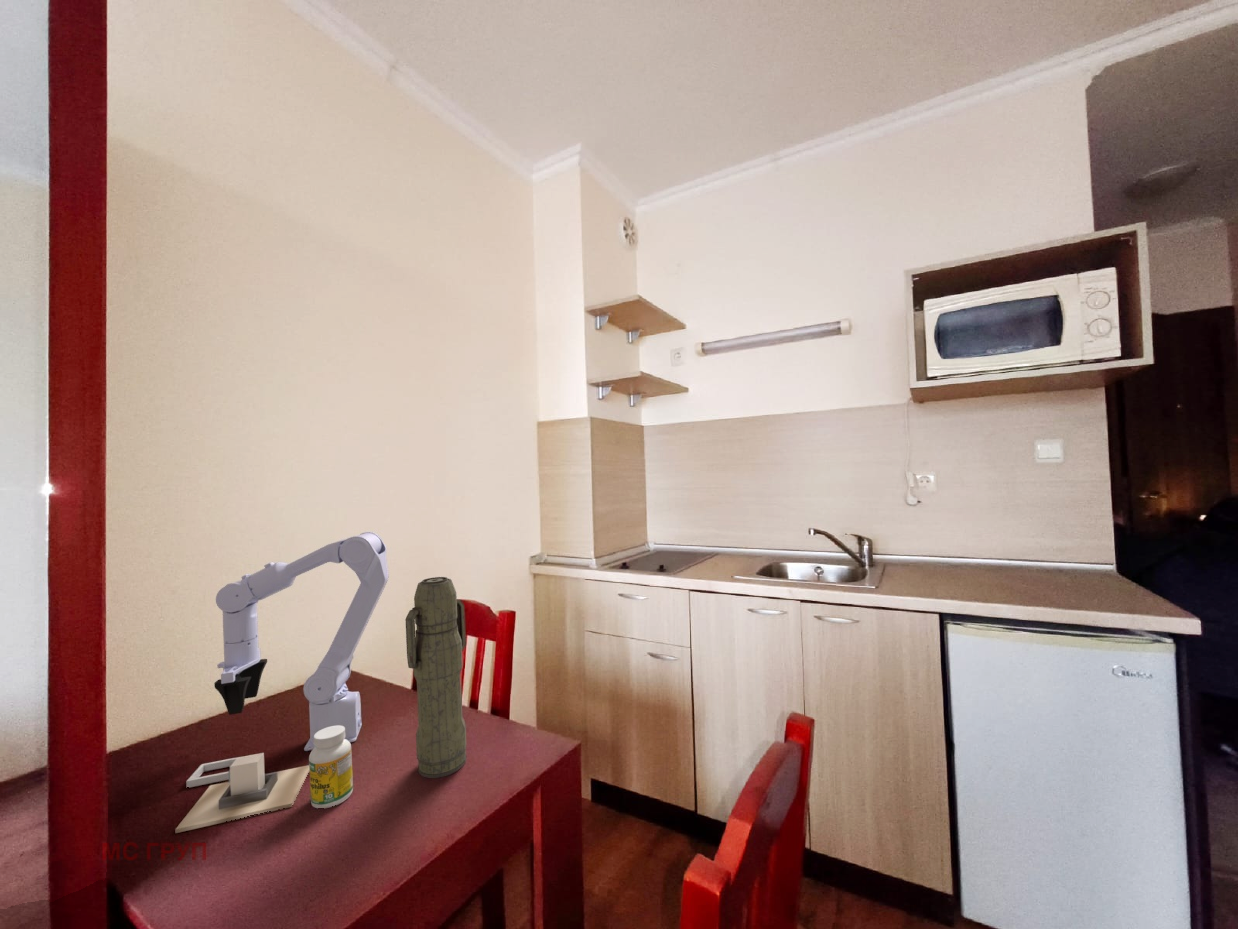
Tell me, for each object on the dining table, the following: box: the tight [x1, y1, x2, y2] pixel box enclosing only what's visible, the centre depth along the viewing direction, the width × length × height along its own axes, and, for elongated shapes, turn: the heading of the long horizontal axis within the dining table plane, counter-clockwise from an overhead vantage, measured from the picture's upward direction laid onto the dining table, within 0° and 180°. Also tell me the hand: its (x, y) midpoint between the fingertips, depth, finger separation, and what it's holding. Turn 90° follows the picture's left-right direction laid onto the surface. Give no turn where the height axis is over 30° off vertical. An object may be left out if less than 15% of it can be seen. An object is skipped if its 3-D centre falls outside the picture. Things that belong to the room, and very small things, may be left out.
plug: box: [227, 752, 266, 796], centre depth 87 cm, size 4×3×6 cm, turn 107°
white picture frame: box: [185, 756, 243, 789], centre depth 94 cm, size 7×6×1 cm
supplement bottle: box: [308, 725, 354, 809], centre depth 86 cm, size 6×6×11 cm
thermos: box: [405, 576, 467, 779], centre depth 95 cm, size 9×12×35 cm
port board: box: [174, 764, 310, 834], centre depth 87 cm, size 16×12×2 cm
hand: (243, 705), depth 103 cm, fingers open, 7 cm apart
